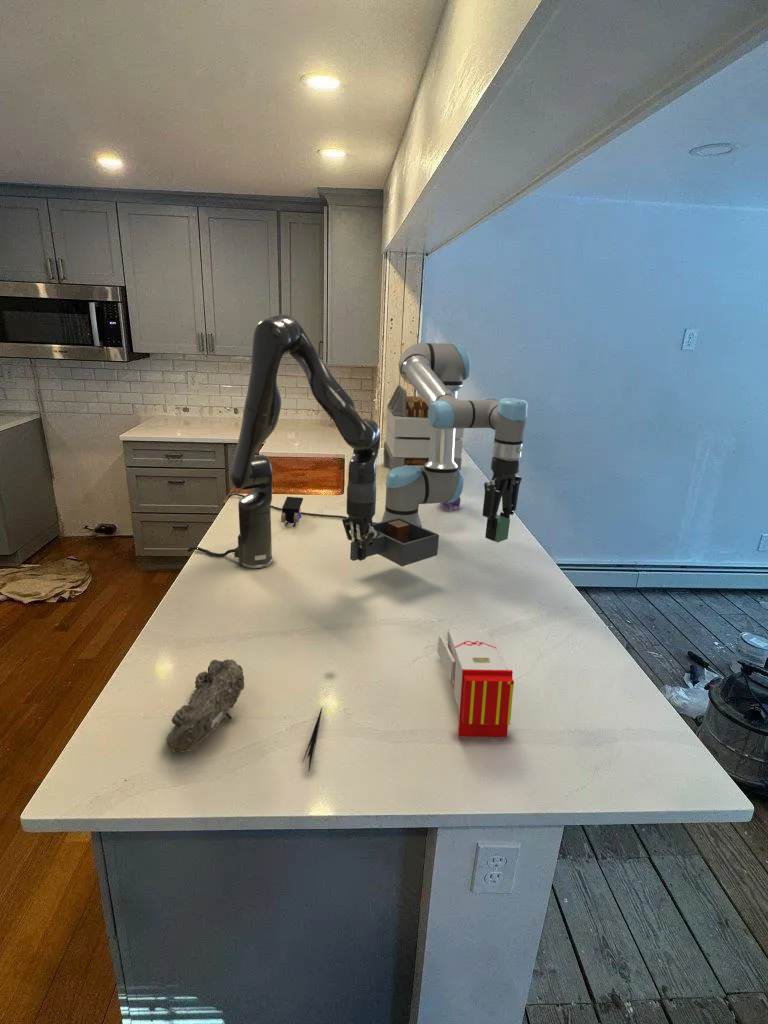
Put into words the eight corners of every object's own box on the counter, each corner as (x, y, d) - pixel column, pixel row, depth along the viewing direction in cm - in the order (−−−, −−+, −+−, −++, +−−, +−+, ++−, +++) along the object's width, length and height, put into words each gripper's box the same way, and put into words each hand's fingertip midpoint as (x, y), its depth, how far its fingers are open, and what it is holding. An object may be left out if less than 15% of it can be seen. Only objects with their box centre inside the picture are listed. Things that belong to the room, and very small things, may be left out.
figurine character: (299, 532, 200) (304, 513, 214) (298, 513, 197) (303, 495, 210) (280, 532, 200) (286, 513, 213) (279, 512, 197) (285, 494, 210)
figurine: (446, 513, 222) (450, 476, 217) (432, 505, 230) (435, 469, 225) (466, 510, 226) (470, 474, 221) (452, 502, 234) (455, 467, 229)
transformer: (382, 463, 289) (386, 382, 275) (445, 464, 293) (451, 384, 279) (390, 482, 257) (394, 392, 243) (460, 483, 261) (468, 394, 247)
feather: (331, 679, 122) (336, 673, 122) (307, 777, 96) (313, 769, 95) (324, 675, 122) (329, 669, 121) (298, 772, 95) (304, 764, 95)
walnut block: (386, 542, 166) (387, 522, 164) (397, 538, 169) (399, 519, 167) (396, 547, 163) (398, 527, 161) (408, 543, 165) (409, 524, 163)
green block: (485, 537, 161) (487, 517, 159) (495, 533, 163) (497, 514, 161) (497, 542, 157) (500, 522, 155) (507, 539, 160) (510, 519, 158)
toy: (488, 613, 130) (523, 677, 101) (484, 667, 133) (517, 744, 104) (435, 612, 130) (455, 676, 101) (432, 666, 133) (451, 743, 103)
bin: (333, 554, 157) (333, 533, 155) (398, 536, 172) (399, 517, 170) (371, 576, 145) (372, 554, 143) (437, 555, 161) (439, 534, 159)
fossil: (192, 660, 117) (244, 628, 112) (224, 691, 120) (276, 661, 115) (142, 746, 98) (202, 712, 93) (182, 779, 101) (242, 748, 96)
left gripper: (334, 492, 149) (333, 553, 155) (366, 507, 139) (364, 571, 145) (356, 488, 154) (354, 546, 159) (389, 501, 144) (386, 563, 150)
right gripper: (496, 465, 144) (486, 549, 152) (537, 456, 155) (525, 534, 163) (474, 458, 149) (465, 539, 158) (515, 450, 160) (505, 526, 168)
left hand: (359, 558), depth 152 cm, fingers closed on bin, 1 cm apart
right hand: (496, 536), depth 160 cm, fingers closed on green block, 4 cm apart
